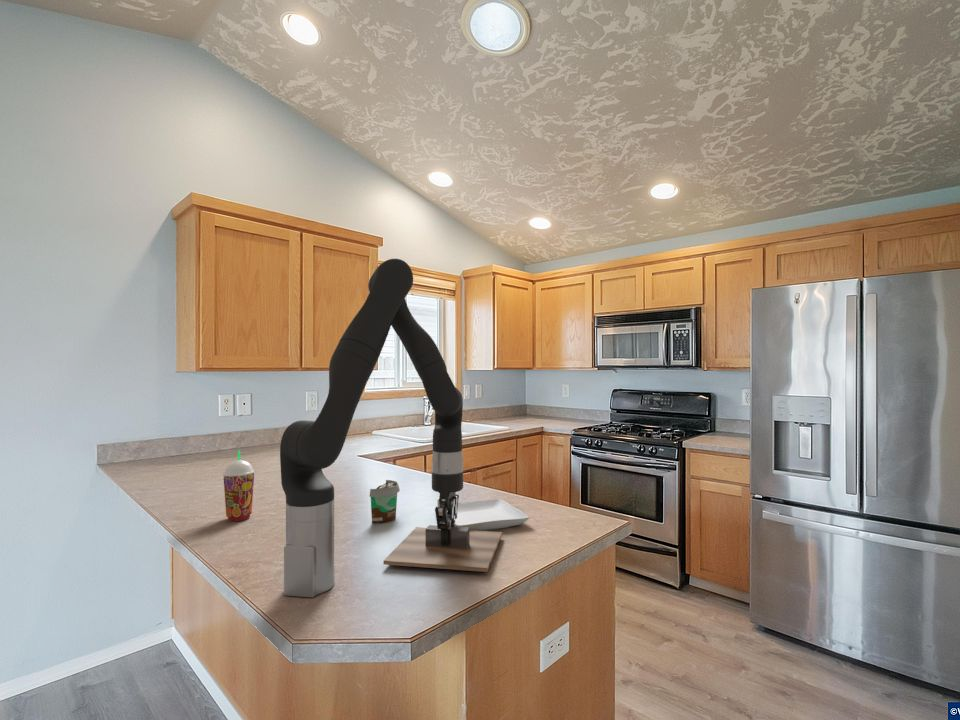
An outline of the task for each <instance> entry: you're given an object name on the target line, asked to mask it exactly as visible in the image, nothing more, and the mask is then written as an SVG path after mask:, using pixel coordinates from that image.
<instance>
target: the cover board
mask: <svg viewBox="0 0 960 720" xmlns="http://www.w3.org/2000/svg"><path fill="white" fill-rule="evenodd" d="M502 537H503V532H502V531H491V530H485V531H473V530H469V527H456V526H454V527H452V526H451V544H450V545H449V546H442V545H441V529H438V528H437V525H434V524H433V525H432V524H429V525H428V526H427V527H419V526H418V527H417V526H416V527H415V528H414V529H413V530H412V531H411V532H409V534H407V536H406V537H404V539H403V540H402V541H401V542H400V543H399V544H397V547H395V548H394V549H393V550H392V551H391V553H389V554H388V555H387V556H386V557H385V559H384V560H383V563H382V564H383V565H387V566H401V567H414V568H427V569H428V568H429V569H431V568H432V569H442V570H444V569H445V570H455V571H469V572H481V573H482V572H484V573H487V572H488V571H489V569H490V566H491V564H492V561H493V559H494V556H495V554H496V552H497V549H498V547H499V544H500V541H501V540H502Z"/></svg>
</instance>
